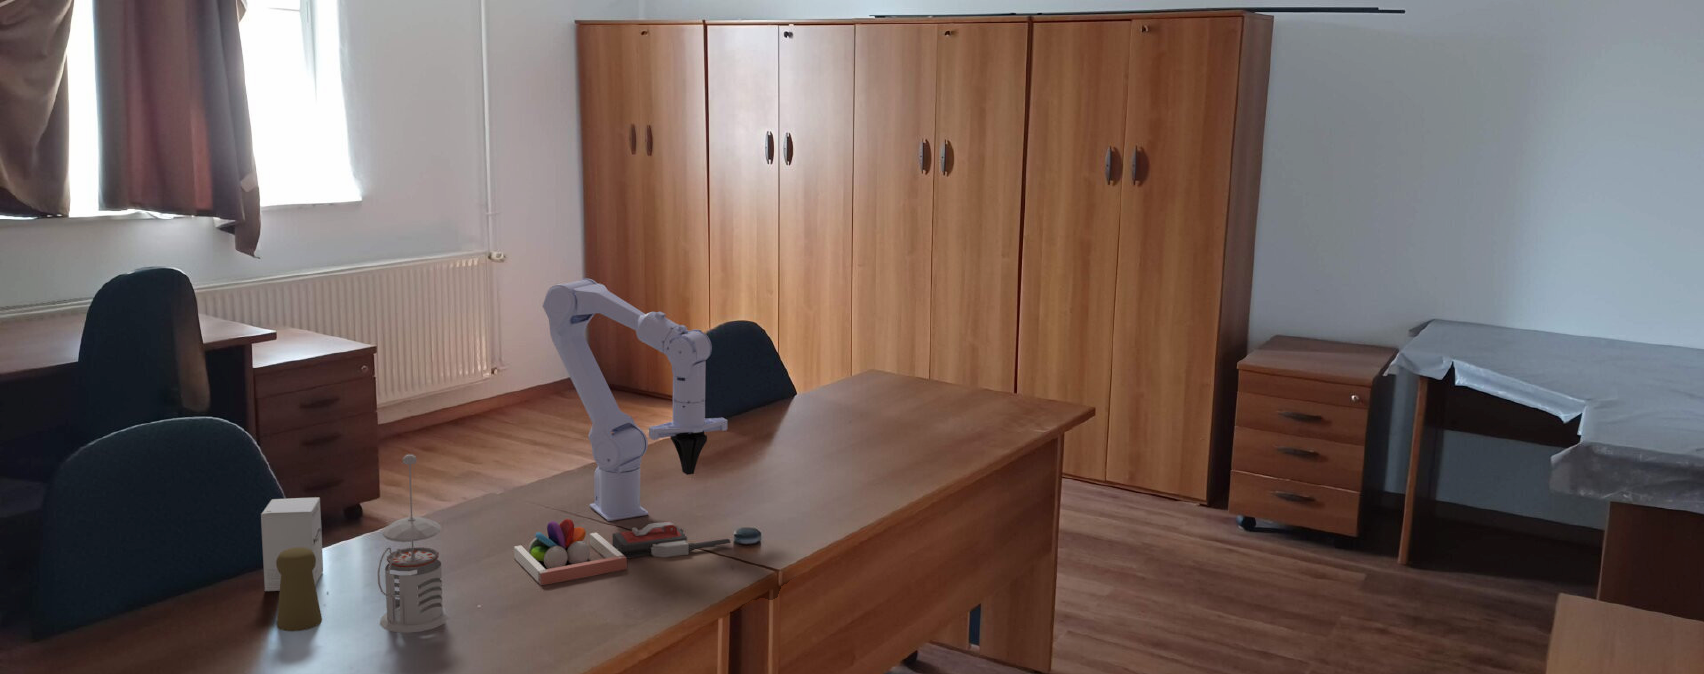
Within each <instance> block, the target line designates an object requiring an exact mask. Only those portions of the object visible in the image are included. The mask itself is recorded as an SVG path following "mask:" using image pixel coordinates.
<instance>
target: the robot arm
mask: <svg viewBox="0 0 1704 674" xmlns="http://www.w3.org/2000/svg"><path fill="white" fill-rule="evenodd" d="M542 309H544V313H545V314H546V316H547V318H548V323H549V332H550V338H551V340H552V342H553V344H554V346H555V349H556V351H557V353H558V355H559V357H560V359H561V362H562V363H563V365H564V367H565V370H566V371H567V373H568V377H569V378H570V380H571V382H572V384H573V386H574V388H575V390H576V392H577V395H578V396H579V399H580V401H581V402H582V404H583V406H584V407H583V408H584V409H585V411H586V413H587V415H588V417H589V419H590V421H591V424H592V425H591V428H590V430H589V433H588V441H589V442H590V444H591V450H592V457H593V461H594V462H595V464H596V465H597V467H596V469H595V471H594V477H593V479H594V483H593V484H594V485H593V486H594V487H593V490H594V495H593V496H594V501H593V503H589V507H590V508H591V509H592V510H594V511H595V512H596V513H598V514H599V515H600V516H601V517H602V518H604V519H605V520H606V521H609V522H612V521H618V520H623V519H630V518H636V517H642V516H647V515H649V512H648V510H646V509H645V508H643V507H642V506H641V464H642V457H643V456H644V455H645V454H646V452H647V450H648V447H649V444H648V438H650V439H651V440H653V441H655V440H656V441H657V440H659V439H661V438H670V440H671V441H672V444H673V445H674V448H675V449H676V452H677V455H678V458H679V461H680V465H681V471H682V473H683V474H685V475H687V476H688V475H689V476H690V475H693V474H695V471H696V466H697V464H698V460H699V457H700V454H701V452H702V450H703V449H704V447H705V445H706V444H707V442H708V436H707V435H706V434H705V433H707V432H715V431H716V432H717V431H723V432H724V431H727V430H728V419H726V418H724V417H714V418H713V417H711V418H709V417H708V418H706V371H707V370H706V367H707V366H706V363H707V362H706V360H708V358H709V357H710V356H711V354H712V350H713V349H712V347H713V345H712V342H711V340H710V337H709V336H708V335H707V334H706V333H704V332H703V330H701V329H696V328H695V329H692V330H688V327H687V326H685V325H684V324H681V325H680V324H678V323H676V322H674V321H672V320H671V319H669V318H668V317H666V313H664V312H662V311H658V312H656V311H651V312H648V313H645V312H642V311H641V310H639V309H638V308H637V307H635V306H633V305H632V304H630V303H629V302H627V301H626V300H624V299H622V298H621V297H619V296H618V295H616V294H614V293H612V292H611V291H609V290H608V289H607V287H606V286H605V285H604V284H602V283H598V282H596V280H594V279H591V278H582V279H579V280H577V281H572V282H566V283H558V284H555V285H552V286H551V287H549V288H548V290H547V291H546V295H545V297H544V301H543V303H542ZM595 314H600V315H602V316H605V317H607V318H609V319H611V320H612V321H616V322H617V323H619V324H621V325H623V326H624V327H628V328H630V329H631V330H634V331H635V334H636V336H637V339H638V340H639V341H641V343H644V344H646V345H647V346H649V347H651V348H653V349H655V350H657V351H659V353H662V354H663V355H665V356H666V357H667V360H668V362H669V363H670V365H671V373H672V421H668V422H665V423H662V424H658V425H657V424H656V425H652V426H649V427H648V436H647V435H646V433H645V432H644V431H643V429H641V428H640V427H639V426H638V425H637V424H636V422H635V419H634V418H633V417H632V416H630V415H629V414H627V413H625V412H624V411H622V410H621V409H620V407H619V405H618V403H617V401H616V399H615V397H614V395H613V392H612V391H611V389H610V387H609V384H608V383H607V381H606V378H605V376H604V375H603V372H602V371H601V368H600V366H599V364H598V362H597V360H596V358H595V356H594V354H593V351H592V350H591V348H590V346H589V344H588V342H587V339H586V337H585V331H586V328H587V327H588V324H589V323H590V321H591V320H592V318H593V317H594V316H595ZM647 437H648V438H647Z"/></svg>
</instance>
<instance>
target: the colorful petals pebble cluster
mask: <svg viewBox="0 0 1704 674" xmlns="http://www.w3.org/2000/svg"><path fill="white" fill-rule="evenodd" d="M546 529H547V530H546V531H547V536H546V535H544V533H542V532H540V531H537V532H536V533H535V536H534V537H535V538H534V539H533V540H532V541H530V543H529V545H528V553H529V554H530V555H531V556H533V557H534V558H535V559H536V560H537V561H538V562H539V561H540V562H543V565H544V567H546V569H551V568H556V567H562V566H566V564H567V562H568V563H570V565H573V564H578V563H584V562H588V560H589V557H590V553H591V552H590V551H591V550H590V547H589V545H588V543H586V542H585V541H584V539H585V538H586V534H587V533H586V529H585V528H584V527H581V526H578V527H575V524H574V521H573V520H572V519H570V518H566V519H564V520H562V521H561V522H560V524H559V523H558V522H557V521H554V520H551V521H549V522H548V523H547V526H546Z"/></svg>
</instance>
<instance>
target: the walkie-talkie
mask: <svg viewBox="0 0 1704 674" xmlns="http://www.w3.org/2000/svg"><path fill="white" fill-rule="evenodd" d="M687 540H688V536H687V535H686V534H685V533H684V530H683V529H682V528H679V527H678V526H677V525H674V523H673V522H672V521H662V522H653V523H652V522H651V523H648V524H646V526H644V527H643V528H642V529H638V528H637V527H632V528H631V530H629V531H621V532H620V531H619V532H616V533H615V532H614V533H612V546H613V547H614V548H616V549H617V550H618V551H619V552H621V553H622V554H623V555H624V556H625V557H627V559H630V558H631V559H632V558H639V557H646V556H652V557H656V558H657V557H659V558H670V557H678V556H689V552H690V551H691V552H692V551H695V550H698V549H699V550H700V549H707V548H715V547H716V546H718V545H719V546H720V545H725V544H731V540H730V539H729V538H724V539H715V540H709V541H701V542H695V543H694V542H687Z"/></svg>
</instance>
